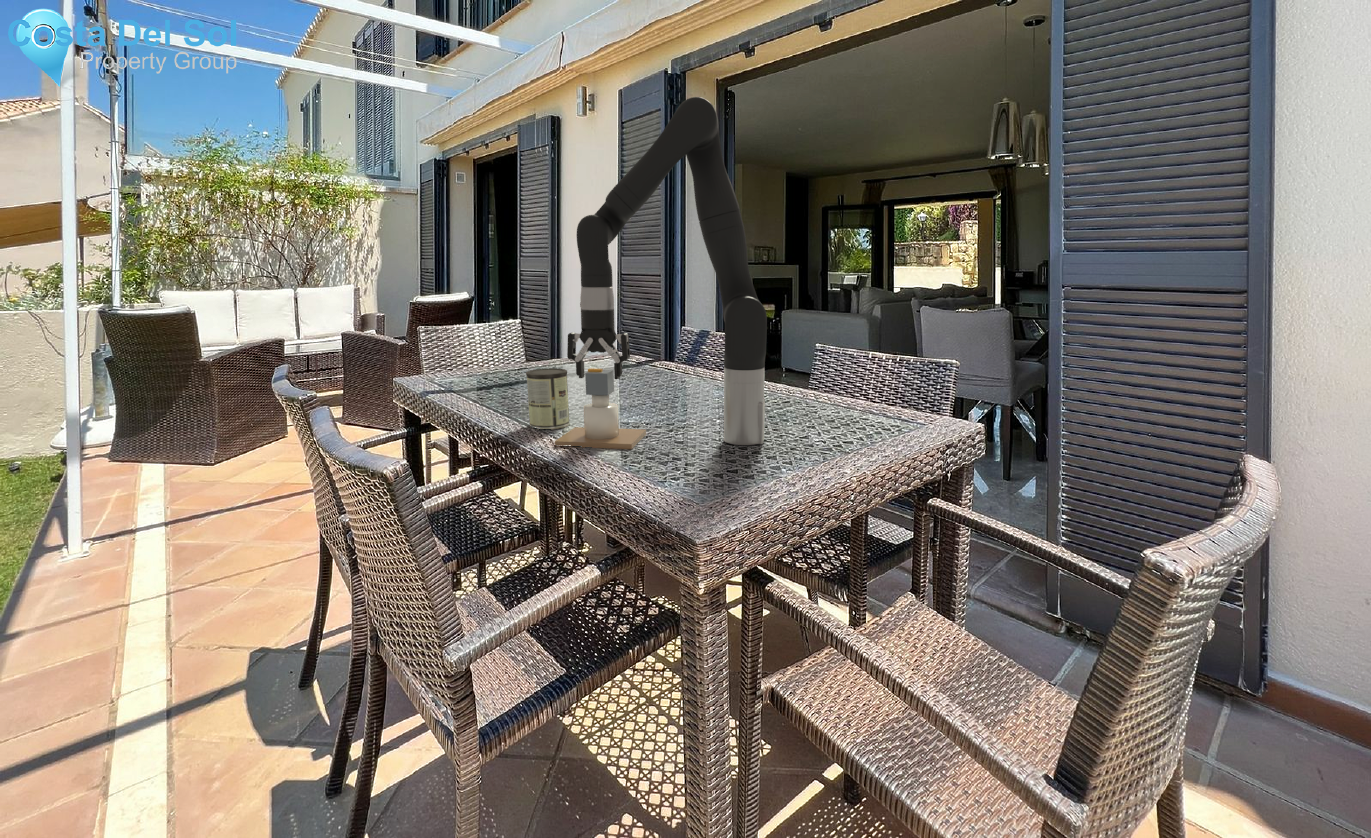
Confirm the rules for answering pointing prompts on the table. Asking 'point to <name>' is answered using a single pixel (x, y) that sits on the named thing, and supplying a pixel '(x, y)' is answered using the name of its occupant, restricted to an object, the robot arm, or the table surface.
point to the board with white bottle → (601, 428)
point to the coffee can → (548, 398)
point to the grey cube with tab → (599, 382)
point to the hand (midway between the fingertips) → (599, 378)
